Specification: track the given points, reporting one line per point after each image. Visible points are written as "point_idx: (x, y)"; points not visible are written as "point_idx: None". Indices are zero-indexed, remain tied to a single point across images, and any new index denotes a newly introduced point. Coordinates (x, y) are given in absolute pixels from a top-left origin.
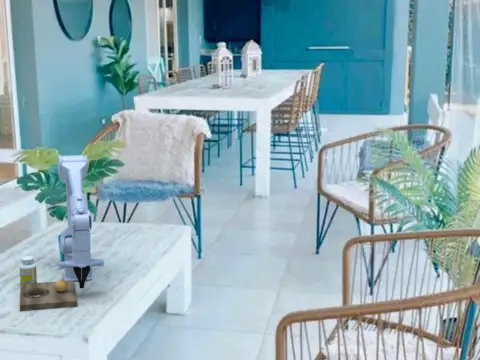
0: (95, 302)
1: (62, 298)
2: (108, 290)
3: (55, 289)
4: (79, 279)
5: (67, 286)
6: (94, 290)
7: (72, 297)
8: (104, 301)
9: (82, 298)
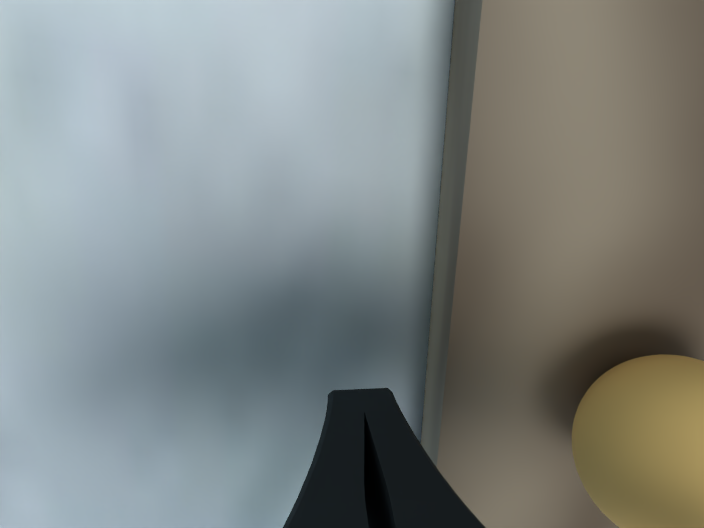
0: (167, 90)
1: (696, 134)
2: (26, 434)
3: None
4: (430, 501)
5: (579, 430)
6: (199, 450)
7: (535, 146)
8: (25, 103)
9: (351, 260)
